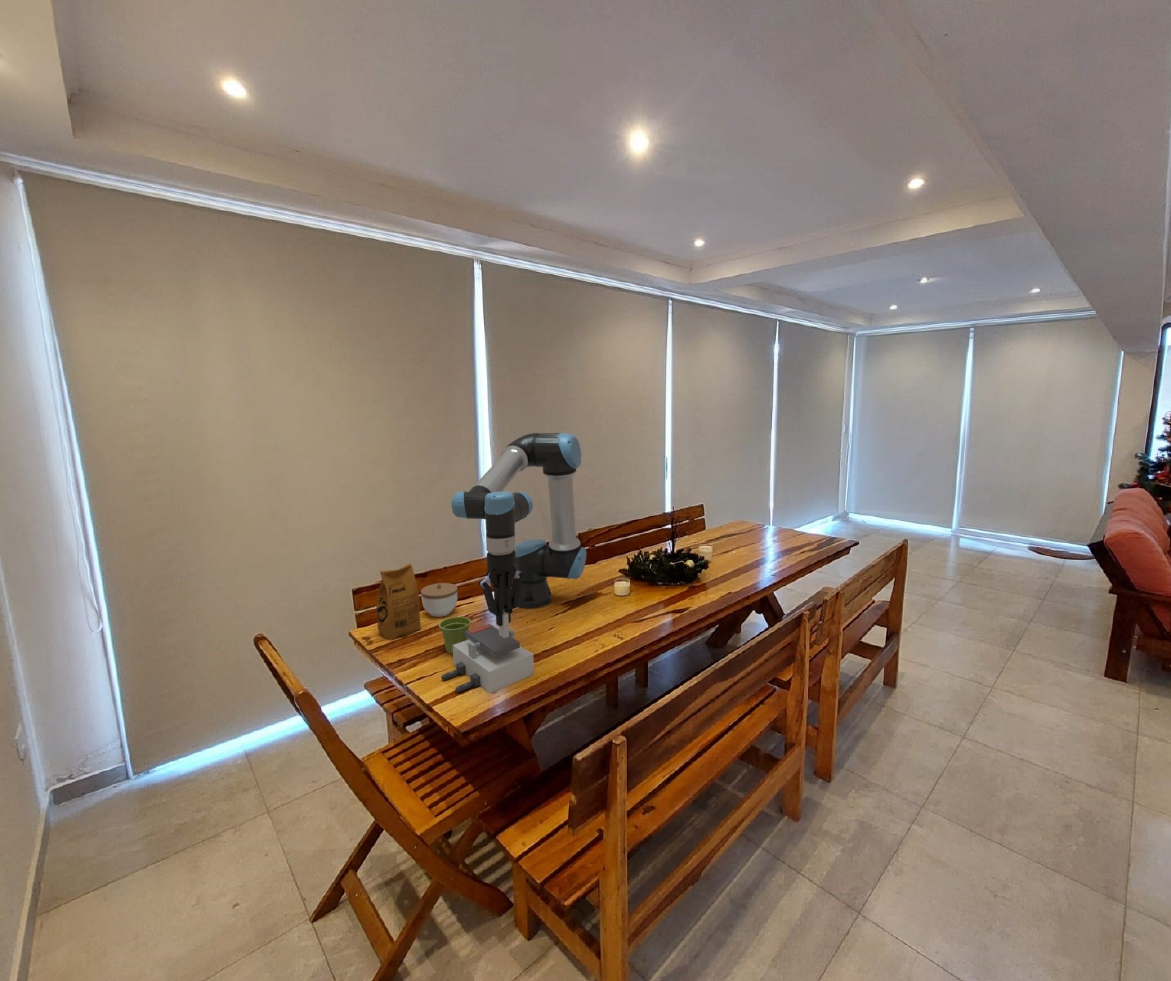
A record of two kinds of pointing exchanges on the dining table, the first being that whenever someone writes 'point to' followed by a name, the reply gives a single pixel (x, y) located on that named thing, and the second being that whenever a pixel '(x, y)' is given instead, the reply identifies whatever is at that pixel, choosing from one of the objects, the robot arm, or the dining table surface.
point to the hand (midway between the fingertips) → (503, 635)
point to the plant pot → (454, 631)
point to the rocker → (491, 640)
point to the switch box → (490, 666)
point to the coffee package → (398, 603)
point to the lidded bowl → (439, 599)
